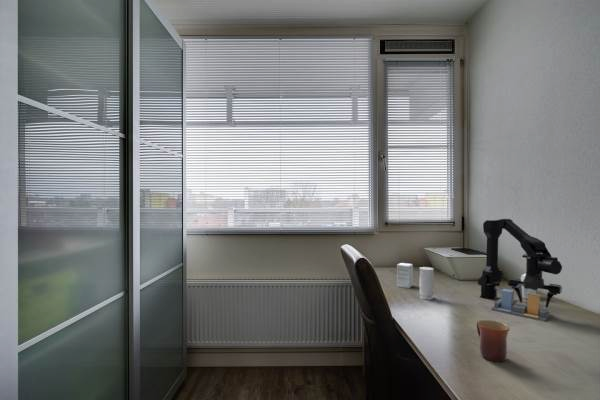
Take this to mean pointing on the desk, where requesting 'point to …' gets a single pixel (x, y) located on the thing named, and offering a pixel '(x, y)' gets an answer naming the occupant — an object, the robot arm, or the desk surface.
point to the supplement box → (404, 275)
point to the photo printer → (526, 291)
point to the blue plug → (507, 299)
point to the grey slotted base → (521, 311)
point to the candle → (426, 283)
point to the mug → (493, 339)
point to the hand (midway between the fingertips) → (533, 305)
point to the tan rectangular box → (533, 304)
